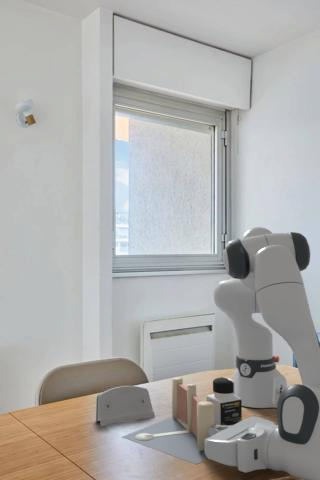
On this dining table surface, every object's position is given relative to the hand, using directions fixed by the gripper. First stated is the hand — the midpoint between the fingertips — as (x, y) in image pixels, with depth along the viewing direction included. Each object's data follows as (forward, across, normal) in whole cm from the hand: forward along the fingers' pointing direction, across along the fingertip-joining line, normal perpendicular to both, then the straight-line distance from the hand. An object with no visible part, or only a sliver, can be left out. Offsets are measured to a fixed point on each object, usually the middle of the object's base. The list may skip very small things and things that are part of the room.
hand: (211, 429), depth 111 cm
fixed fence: (+17, -11, +5) cm, 21 cm away
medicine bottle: (+10, -20, +6) cm, 23 cm away
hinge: (+34, -5, +6) cm, 35 cm away
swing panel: (+5, -3, +4) cm, 8 cm away
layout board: (+11, -4, +6) cm, 13 cm away
